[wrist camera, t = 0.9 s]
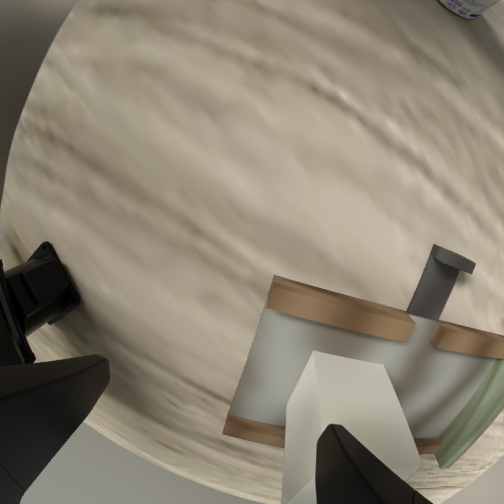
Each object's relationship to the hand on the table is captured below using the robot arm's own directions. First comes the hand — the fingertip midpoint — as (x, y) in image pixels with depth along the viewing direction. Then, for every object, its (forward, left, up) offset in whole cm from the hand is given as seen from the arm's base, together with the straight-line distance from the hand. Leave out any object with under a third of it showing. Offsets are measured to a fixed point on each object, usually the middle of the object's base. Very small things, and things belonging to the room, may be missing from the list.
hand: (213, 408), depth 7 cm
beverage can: (+27, +13, -12) cm, 32 cm away
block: (+1, -11, -11) cm, 16 cm away
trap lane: (+5, -15, -12) cm, 20 cm away
